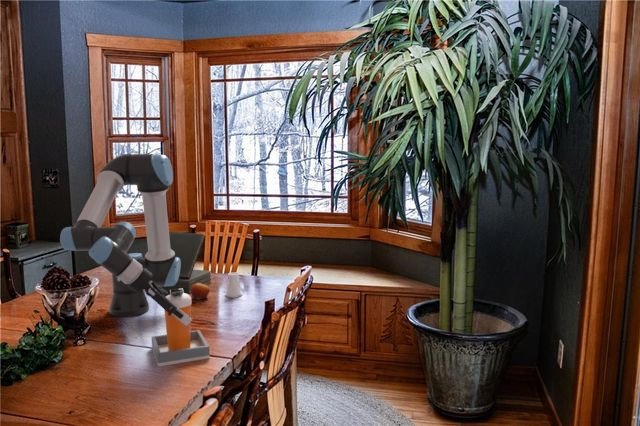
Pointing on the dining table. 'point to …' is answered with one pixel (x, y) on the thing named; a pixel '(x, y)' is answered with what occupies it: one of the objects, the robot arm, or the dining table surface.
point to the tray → (195, 352)
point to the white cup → (233, 285)
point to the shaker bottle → (176, 329)
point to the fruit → (200, 291)
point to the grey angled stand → (188, 260)
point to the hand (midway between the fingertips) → (185, 316)
